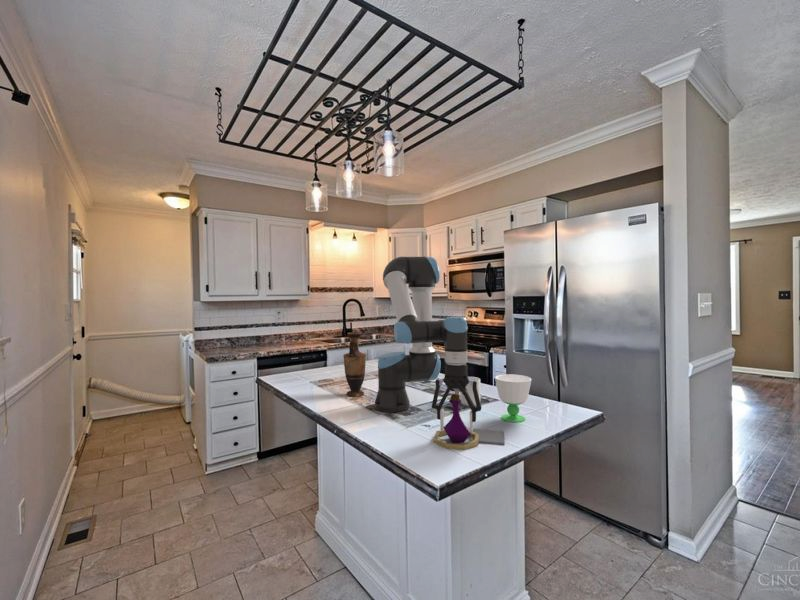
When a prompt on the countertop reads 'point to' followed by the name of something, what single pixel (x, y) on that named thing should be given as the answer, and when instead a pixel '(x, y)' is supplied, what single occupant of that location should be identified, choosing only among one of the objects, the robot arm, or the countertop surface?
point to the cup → (513, 394)
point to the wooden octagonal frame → (456, 445)
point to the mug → (470, 392)
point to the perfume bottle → (456, 422)
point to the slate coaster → (489, 436)
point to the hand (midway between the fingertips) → (456, 430)
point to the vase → (354, 366)
